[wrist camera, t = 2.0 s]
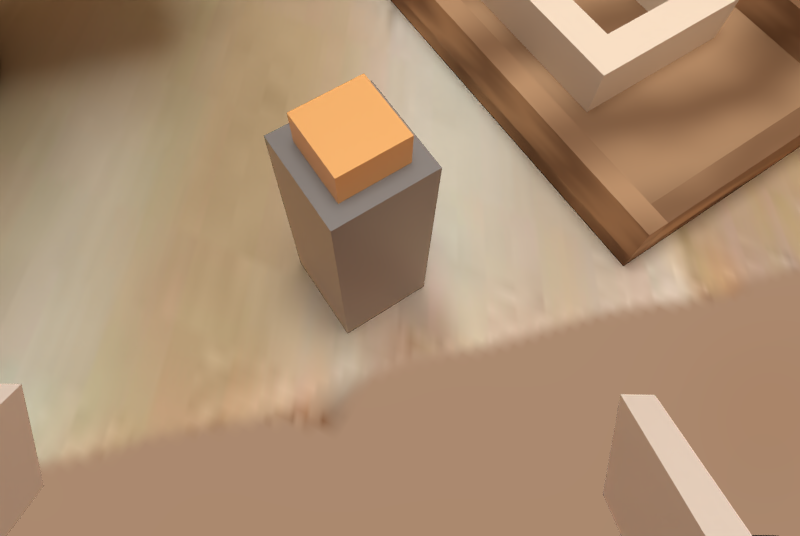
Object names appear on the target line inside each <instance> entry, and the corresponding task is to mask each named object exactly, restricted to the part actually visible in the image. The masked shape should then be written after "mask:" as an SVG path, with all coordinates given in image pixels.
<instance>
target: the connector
mask: <svg viewBox="0 0 800 536" xmlns="http://www.w3.org/2000/svg"><path fill="white" fill-rule="evenodd" d="M287 116H288V121H289V123H288V124H286V125H284V126H282V127H280V128H278V129H276V130H274V131H272V132H270V133H268V134H267V135H265V136H264V138H265V142H266V145H267V149H268V152H269V156H270V159H271V162H272V166H273V169H274V173H275V176H276V180H277V183H278V186H279V190H280V193H281V197H282V200H283V204H284V207H285V210H286V214H287V217H288V221H289V224H290V228H291V231H292V234H293V238H294V241H295V245H296V248H297V252H298V255H299V258H300V262H301V264H302V265H303V267H304V268H305V270H306V271H307V273H308V274H309V276H310V277H311V279H312V280H313V282H314V283H315V285H316V286H317V288H318V289H319V291H320V292H321V294H322V295H323V297H324V298H325V300H326V301H327V303H328V304H329V306H330V307H331V309H332V311H333V312H334V314H335V315H336V317H337V318H338V320H339V321H340V323H341V324H342V326H343V327H344V329H345V330H346V332H347V333H349V332H351V331H352V330H354V329H356V328H357V327H359V326H360V325H362V324H364V323H365V322H367V321H369V320H370V319H372V318H373V317H375V316H377V315H378V314H380V313H381V312H383V311H385V310H386V309H388V308H389V307H391V306H393V305H394V304H396V303H397V302H399V301H401V300H402V299H404V298H405V297H407V296H409V295H410V294H412V293H413V292H415V291H417V290H418V289H420V288H422V287H423V286H424V280H425V274H426V267H427V261H428V254H429V248H430V241H431V235H432V228H433V222H434V216H435V209H436V203H437V196H438V190H439V183H440V177H441V170H442V167H441V166H440V165H439V164H438V162H437V161H436V160H435V159H434V158H433V156H432V155H431V154H430V153H429V151H428V150H427V149H426V148H425V146H424V145H423V144H422V143H421V141H420V140H419V139H418V138H417V136H416V135H415V134H414V133H413V132H412V130H411V129H410V128H409V127H408V125H407V124H406V123H405V122H404V120H403V119H402V118H401V117H400V115H399V114H398V113H397V112H396V111H395V109H394V108H393V107H392V106H391V104H390V103H389V102H388V101H387V99H386V98H385V97H384V96H383V94H382V93H381V92H380V91H379V89H378V88H377V87H376V86H375V85H374V83H373V82H372V81H370V80H369V79H368V78H367V77H366V75H365V74H362V75H360V76H358V77H356V78H354V79H352V80H350V81H348V82H346V83H344V84H342V85H340V86H338V87H336V88H334V89H332V90H331V91H329V92H327V93H325V94H323V95H321V96H319V97H317V98H315V99H313V100H311V101H309V102H307V103H305V104H303V105H301V106H299V107H297V108H295V109H293V110H291V111H289V112H287Z"/></svg>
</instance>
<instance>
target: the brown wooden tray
mask: <svg viewBox="0 0 800 536" xmlns="http://www.w3.org/2000/svg"><path fill="white" fill-rule="evenodd" d="M391 1H392V2H393V3H394V4H395V5H396V6H397V8H398V9H399V10H400V11H401V12H402V13H403V14H404V16H405V17H406V18H407V19H408V20H409V21H410V22H411V24H412V25H413V26H414V27H415V28H416V29H417V30H418V32H419V33H420V34H421V35H422V36H423V37H424V38H425V40H426V41H427V42H428V43H429V44H430V45H431V46H432V48H433V49H434V50H435V51H436V52H437V53H438V54H439V56H440V57H441V58H442V59H443V60H444V61H445V62H446V64H447V65H448V66H449V67H450V68H451V69H452V70H453V72H454V73H455V74H456V75H457V76H458V77H459V78H460V80H461V81H462V82H463V83H464V84H465V85H466V86H467V88H468V89H469V90H470V91H471V92H472V93H473V94H474V96H475V97H476V98H477V99H478V100H479V101H480V102H481V104H482V105H483V106H484V107H485V108H486V109H487V110H488V112H489V113H490V114H491V115H492V116H493V117H494V118H495V120H496V121H497V122H498V123H499V124H500V125H501V126H502V128H503V129H504V130H505V131H506V132H507V133H508V134H509V136H510V137H511V138H512V139H513V140H514V141H515V142H516V144H517V145H518V146H519V147H520V148H521V149H522V150H523V152H524V153H525V154H526V155H527V156H528V157H529V158H530V160H531V161H532V162H533V163H534V164H535V165H536V166H537V168H538V169H539V170H540V171H541V172H542V173H543V174H544V176H545V177H546V178H547V179H548V180H549V181H550V182H551V183H552V185H553V186H554V187H555V188H556V189H557V190H558V191H559V193H560V194H561V195H562V196H563V197H564V198H565V199H566V201H567V202H568V203H569V204H570V205H571V206H572V207H573V209H574V210H575V211H576V212H577V213H578V214H579V215H580V217H581V218H582V219H583V220H584V221H585V222H586V223H587V225H588V226H589V227H590V228H591V229H592V230H593V231H594V233H595V234H596V235H597V236H598V237H599V238H600V239H601V241H602V242H603V243H604V244H605V245H606V246H607V247H608V249H609V250H610V251H611V252H612V253H613V254H614V255H615V257H616V258H617V259H618V260H619V261H620V262H621V263H622V265H623V266H624V265H625V264H627V263H628V262H630V261H631V260H633V259H634V258H636V257H637V256H639V255H640V254H642V253H643V252H645V251H646V250H648V249H649V248H651V247H652V246H654V245H655V244H657V243H658V242H659V241H661V240H662V239H664V238H665V237H667V236H668V235H670V234H671V233H673V232H674V231H676V230H677V229H679V228H680V227H682V226H683V225H685V224H686V223H688V222H689V221H691V220H692V219H694V218H695V217H697V216H698V215H699V214H701V213H702V212H704V211H705V210H707V209H708V208H710V207H711V206H713V205H714V204H716V203H717V202H719V201H720V200H722V199H723V198H725V197H726V196H728V195H729V194H731V193H732V192H734V191H735V190H737V189H738V188H739V187H741V186H742V185H744V184H745V183H747V182H748V181H750V180H751V179H753V178H754V177H756V176H757V175H759V174H760V173H762V172H763V171H765V170H766V169H768V168H769V167H771V166H772V165H774V164H775V163H776V162H778V161H779V160H781V159H782V158H784V157H785V156H787V155H788V154H790V153H791V152H793V151H794V150H796V149H797V148H799V147H800V0H739V1H738V2H737V4H736V5H735V7H734V9H733V10H732V12H731V13H730V15H729V16H728V18H727V19H726V21H725V22H724V24H723V25H722V27H721V29H720V30H719V32H718V33H717V35H716V36H715V37H714V38H713V39H711V40H709V41H707V42H706V43H704V44H702V45H701V46H699V47H697V48H696V49H694V50H692V51H690V52H689V53H687V54H685V55H684V56H682V57H680V58H678V59H677V60H675V61H673V62H672V63H670V64H668V65H667V66H665V67H663V68H661V69H660V70H658V71H656V72H655V73H653V74H651V75H650V76H648V77H646V78H644V79H643V80H641V81H639V82H638V83H636V84H634V85H632V86H631V87H629V88H627V89H626V90H624V91H622V92H621V93H619V94H617V95H615V96H614V97H612V98H610V99H609V100H607V101H605V102H603V103H602V104H600V105H598V106H597V107H595V108H593V109H592V110H590V111H588V112H586V111H585V110H584V109H583V107H582V106H581V105H580V104H579V103H578V102H577V101H576V100H575V99H574V98H573V97H572V96H571V95H570V94H569V93H568V92H567V91H566V90H565V88H564V87H563V86H562V85H561V84H560V83H559V82H558V81H557V80H556V79H555V78H554V77H553V76H552V75H551V74H550V73H549V72H548V70H547V69H546V68H545V67H544V66H543V65H542V64H541V63H540V62H539V61H538V60H537V59H536V58H535V57H534V56H533V55H532V54H531V53H530V51H529V50H528V49H527V48H526V47H525V46H524V45H523V44H522V43H521V42H520V41H519V40H518V39H517V38H516V37H515V36H514V35H513V33H512V32H511V31H510V30H509V29H508V28H507V27H506V26H505V25H504V24H503V23H502V22H501V21H500V20H499V19H498V18H497V17H496V16H495V14H494V13H493V12H492V11H491V10H490V9H489V8H488V7H487V6H486V5H485V4H484V3H483V2H482V1H481V0H391ZM573 1H574V2H575V3H576V4H577V5H578V6H579V7H580V8H581V9H582V10H583V11H584V12H585V13H586V14H587V15H589V16H590V17H591V18H592V19H593V20H594V21H595V22H596V23H597V24H598V25H599V26H600V27H601V28H602V29H603V30H604V31H605V32H606V33H607V34H609V33H611V32H612V31H614V30H616V29H618V28H620V27H621V26H623V25H625V24H627V23H629V22H631V21H632V20H634V19H636V18H638V17H640V16H641V15H643V14H645V13H647V12H648V11H647V10H646V9H645V8H644V7H643V6H642V5H640V4H639V3H638V2H637V1H636V0H573Z"/></svg>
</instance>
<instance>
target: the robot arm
mask: <svg viewBox="0 0 800 536" xmlns="http://www.w3.org/2000/svg"><path fill="white" fill-rule="evenodd" d="M43 486H44V485H43V480H42V476H41V471H40V467H39V462H38V457H37V453H36V448H35V444H34V439H33V435H32V430H31V426H30V421H29V417H28V412H27V408H26V403H25V398H24V394H23V389H22V385H21V384H0V536H7V534H8V533H9V532H10V531H11V529H12V528H13V527H14V525H15V524H16V523H17V521H18V520H19V518H20V517H21V516H22V515H23V513H24V512H25V511H26V509H27V508H28V506H29V505H30V504H31V502H32V501H33V500H34V499H35V497H36V496H37V495H38V493H39V492H40V491H41V489H42V488H43ZM603 496H604V498H605V500H606V503H607V505H608V507H609V509H610V512H611V514H612V516H613V518H614V521H615V523H616V525H617V528H618V530H619V532H620V535H621V536H770V535H751V533H750V532H749V530H748V529H747V528H746V526H745V525H744V523H743V522H742V520H741V519H740V517H739V516H738V515H737V513H736V512H735V510H734V509H733V507H732V506H731V504H730V503H729V501H728V500H727V499H726V497H725V496H724V494H723V493H722V491H721V490H720V489H719V487H718V486H717V484H716V483H715V481H714V480H713V478H712V477H711V475H710V474H709V473H708V471H707V470H706V468H705V467H704V465H703V464H702V463H701V461H700V460H699V458H698V457H697V455H696V454H695V452H694V451H693V449H692V448H691V447H690V445H689V444H688V442H687V441H686V439H685V438H684V436H683V435H682V433H681V432H680V431H679V429H678V428H677V426H676V425H675V423H674V422H673V421H672V419H671V418H670V416H669V415H668V413H667V412H666V410H665V409H664V407H663V406H662V405H661V403H660V402H659V400H658V399H657V397H656V396H655V395H630V394H626V395H625V394H621V395H620V400H619V406H618V412H617V417H616V423H615V428H614V435H613V440H612V445H611V451H610V457H609V463H608V468H607V474H606V480H605V486H604V491H603ZM773 536H774V535H773Z"/></svg>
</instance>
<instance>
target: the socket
mask: <svg viewBox="0 0 800 536" xmlns="http://www.w3.org/2000/svg"><path fill="white" fill-rule="evenodd" d="M481 1H482V2H483V3H484V4H485V5H486V6H487V7H488V8H489V9H490V10H491V11H492V12H493V13H494V14H495V16H496V17H497V18H498V19H499V20H500V21H501V22H502V23H503V24H504V25H505V26H506V27H507V28H508V29H509V30H510V31H511V32H512V33H513V35H514V36H515V37H516V38H517V39H518V40H519V41H520V42H521V43H522V44H523V45H524V46H525V47H526V48H527V49H528V50H529V51H530V53H531V54H532V55H533V56H534V57H535V58H536V59H537V60H538V61H539V62H540V63H541V64H542V65H543V66H544V67H545V68H546V69H547V70H548V72H549V73H550V74H551V75H552V76H553V77H554V78H555V79H556V80H557V81H558V82H559V83H560V84H561V85H562V86H563V87H564V88H565V90H566V91H567V92H568V93H569V94H570V95H571V96H572V97H573V98H574V99H575V100H576V101H577V102H578V103H579V104H580V105H581V106H582V107H583V109H584V110H585V111H586V112H588V111H590V110H592V109H593V108H595V107H597V106H598V105H600V104H602V103H603V102H605V101H607V100H609V99H610V98H612V97H614V96H615V95H617V94H619V93H621V92H622V91H624V90H626V89H627V88H629V87H631V86H632V85H634V84H636V83H638V82H639V81H641V80H643V79H644V78H646V77H648V76H650V75H651V74H653V73H655V72H656V71H658V70H660V69H661V68H663V67H665V66H667V65H668V64H670V63H672V62H673V61H675V60H677V59H678V58H680V57H682V56H684V55H685V54H687V53H689V52H690V51H692V50H694V49H696V48H697V47H699V46H701V45H702V44H704V43H706V42H707V41H709V40H711V39H713V38H714V37H715V36H716V35H717V33H718V32H719V30H720V29H721V27H722V25H723V24H724V22H725V21H726V19H727V18H728V16H729V15H730V13H731V12H732V10H733V9H734V7H735V5H736V4H737V2H738V1H739V0H636V1H637V2H638V3H639V4H640V5H642V6H643V7H644V8H645V9H646V10H647V11H648V12H647V13H645V14H643V15H641V16H640V17H638V18H636V19H634V20H632V21H631V22H629V23H627V24H625V25H623V26H621V27H620V28H618V29H616V30H614V31H612V32H611V33H609V34H607V33H606V32H605V31H604V30H603V29H602V28H601V27H600V26H599V25H598V24H597V23H596V22H595V21H594V20H593V19H592V18H591V17H590V16H589V15H587V14H586V13H585V12H584V11H583V10H582V9H581V8H580V7H579V6H578V5H577V4H576V3H575V2H574V1H573V0H481Z"/></svg>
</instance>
